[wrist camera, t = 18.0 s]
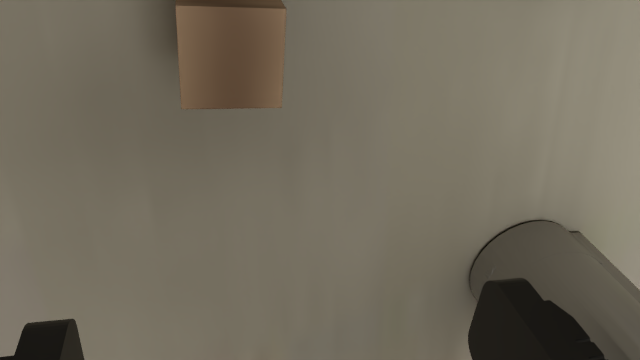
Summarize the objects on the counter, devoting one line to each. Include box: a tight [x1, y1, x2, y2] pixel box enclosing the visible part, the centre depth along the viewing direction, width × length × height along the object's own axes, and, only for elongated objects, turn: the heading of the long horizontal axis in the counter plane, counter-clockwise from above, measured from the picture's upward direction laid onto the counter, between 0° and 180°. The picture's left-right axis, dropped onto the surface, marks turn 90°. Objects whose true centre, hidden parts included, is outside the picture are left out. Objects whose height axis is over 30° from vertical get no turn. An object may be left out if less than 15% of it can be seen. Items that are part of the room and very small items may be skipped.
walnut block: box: [176, 0, 286, 109], centre depth 26 cm, size 4×4×7 cm
